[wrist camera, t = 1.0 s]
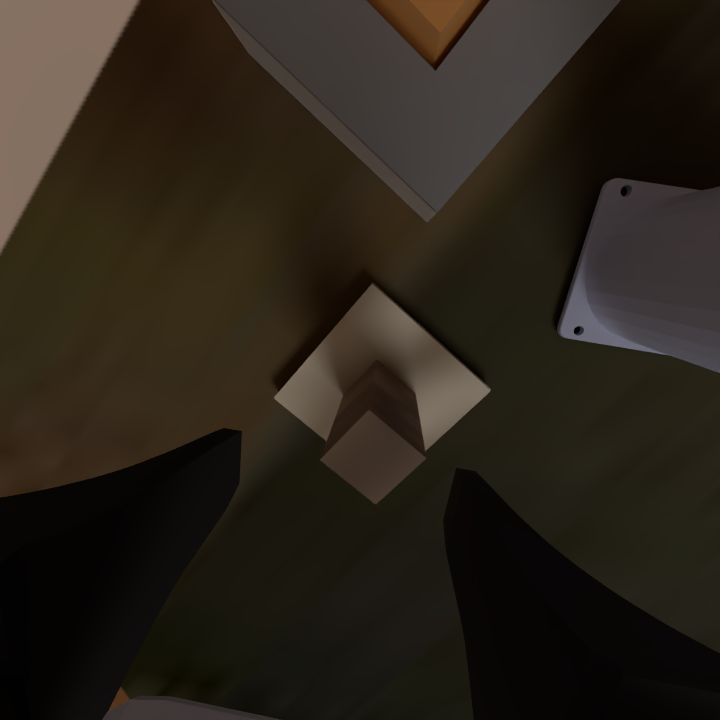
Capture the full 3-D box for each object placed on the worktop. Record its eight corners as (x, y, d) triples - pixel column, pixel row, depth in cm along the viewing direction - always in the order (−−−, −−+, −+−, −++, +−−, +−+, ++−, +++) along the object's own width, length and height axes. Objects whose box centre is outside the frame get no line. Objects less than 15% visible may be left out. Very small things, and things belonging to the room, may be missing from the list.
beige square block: (486, 384, 21) (491, 390, 20) (384, 479, 24) (384, 488, 23) (373, 282, 20) (372, 283, 19) (278, 392, 22) (273, 398, 21)
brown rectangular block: (415, 393, 21) (426, 458, 14) (380, 427, 21) (375, 504, 15) (376, 359, 20) (368, 409, 14) (343, 395, 21) (320, 459, 14)
